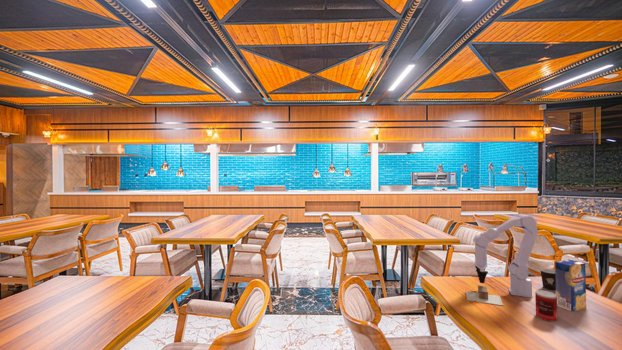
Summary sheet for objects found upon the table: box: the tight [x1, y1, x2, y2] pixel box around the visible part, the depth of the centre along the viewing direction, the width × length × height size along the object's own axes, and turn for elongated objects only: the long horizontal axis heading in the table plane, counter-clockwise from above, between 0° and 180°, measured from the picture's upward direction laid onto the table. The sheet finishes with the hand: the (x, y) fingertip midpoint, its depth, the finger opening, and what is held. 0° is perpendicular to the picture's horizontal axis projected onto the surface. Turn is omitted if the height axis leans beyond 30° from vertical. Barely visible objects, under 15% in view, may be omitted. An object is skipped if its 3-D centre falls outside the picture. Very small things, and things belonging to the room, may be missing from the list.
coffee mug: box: [539, 268, 556, 292], centre depth 161 cm, size 12×9×10 cm
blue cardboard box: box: [554, 258, 587, 312], centre depth 140 cm, size 7×11×22 cm, turn 109°
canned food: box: [534, 289, 558, 322], centre depth 130 cm, size 8×8×11 cm
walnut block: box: [477, 284, 489, 300], centre depth 153 cm, size 4×4×9 cm
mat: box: [465, 290, 504, 307], centre depth 151 cm, size 16×12×1 cm
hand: (481, 280), depth 161 cm, fingers open, 7 cm apart
